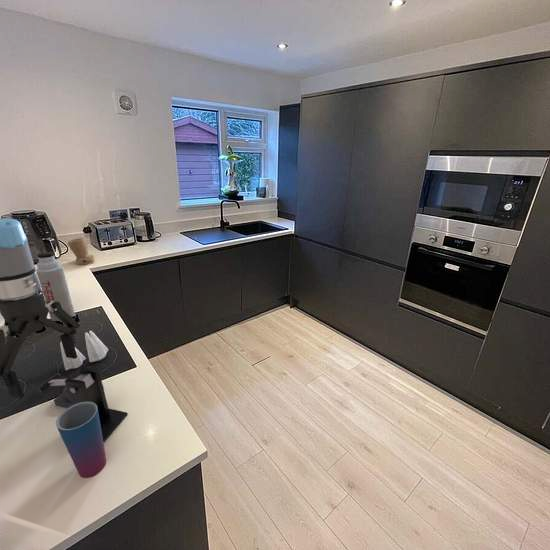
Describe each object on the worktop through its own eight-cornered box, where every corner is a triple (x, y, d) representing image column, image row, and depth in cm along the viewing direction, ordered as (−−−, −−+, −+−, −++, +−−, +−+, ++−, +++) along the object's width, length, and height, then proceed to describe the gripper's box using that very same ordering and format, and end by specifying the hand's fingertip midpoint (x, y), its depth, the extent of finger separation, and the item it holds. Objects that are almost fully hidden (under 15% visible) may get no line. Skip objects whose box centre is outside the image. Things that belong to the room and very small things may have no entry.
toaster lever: (39, 394, 67) (34, 386, 67) (58, 379, 72) (54, 372, 71) (81, 393, 64) (76, 384, 63) (99, 377, 68) (94, 369, 67)
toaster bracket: (61, 437, 68) (43, 384, 62) (91, 407, 76) (78, 358, 70) (101, 447, 66) (86, 393, 60) (128, 415, 74) (117, 366, 68)
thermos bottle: (61, 325, 112) (42, 258, 102) (46, 322, 115) (26, 255, 104) (80, 316, 120) (63, 252, 109) (66, 313, 122) (48, 249, 111)
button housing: (55, 406, 76) (51, 394, 75) (80, 385, 84) (77, 374, 82) (80, 412, 75) (77, 400, 73) (104, 390, 82) (101, 379, 80)
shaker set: (109, 353, 97) (102, 325, 93) (109, 360, 94) (102, 331, 90) (66, 364, 92) (57, 334, 88) (65, 372, 88) (56, 341, 84)
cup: (85, 453, 64) (69, 401, 59) (116, 451, 65) (103, 400, 59) (66, 484, 58) (47, 430, 53) (101, 483, 59) (86, 429, 53)
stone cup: (73, 259, 185) (67, 237, 179) (94, 257, 190) (90, 235, 185) (71, 267, 172) (65, 242, 167) (94, 264, 178) (89, 240, 172)
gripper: (-40, 326, 48) (2, 420, 56) (83, 274, 71) (101, 346, 79) (-73, 321, 50) (-27, 413, 57) (58, 271, 72) (78, 342, 80)
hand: (47, 374), depth 68 cm, fingers open, 13 cm apart
